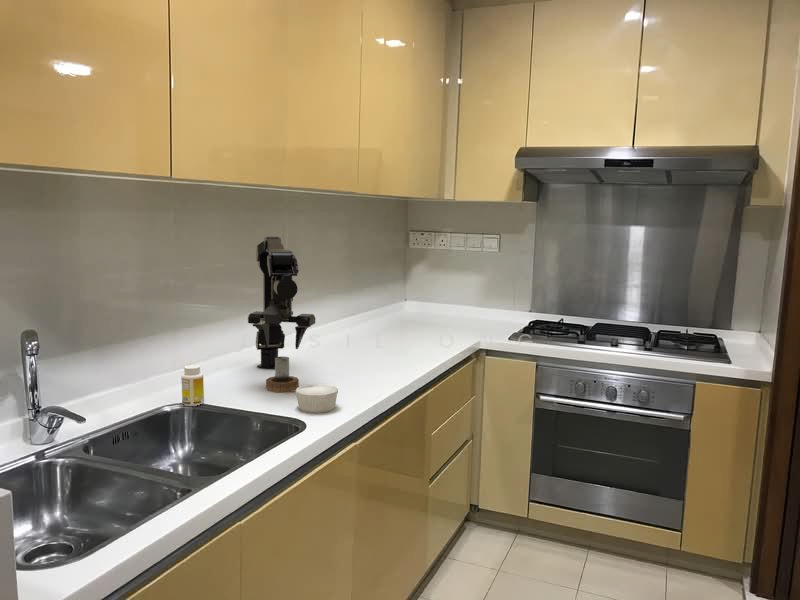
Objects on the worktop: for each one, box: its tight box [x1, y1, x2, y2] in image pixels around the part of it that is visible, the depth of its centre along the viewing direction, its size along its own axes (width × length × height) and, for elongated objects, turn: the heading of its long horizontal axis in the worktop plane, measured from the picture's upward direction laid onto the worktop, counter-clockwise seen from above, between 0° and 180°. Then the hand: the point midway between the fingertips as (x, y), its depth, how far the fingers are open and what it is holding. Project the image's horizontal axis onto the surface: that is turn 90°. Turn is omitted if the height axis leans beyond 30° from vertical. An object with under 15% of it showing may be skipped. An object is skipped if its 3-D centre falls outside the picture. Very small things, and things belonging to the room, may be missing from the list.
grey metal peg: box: [274, 356, 290, 383], centre depth 193 cm, size 4×4×9 cm
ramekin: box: [295, 383, 339, 414], centre depth 175 cm, size 11×11×5 cm
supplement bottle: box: [181, 364, 205, 407], centre depth 176 cm, size 6×6×10 cm
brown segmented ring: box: [265, 375, 300, 393], centre depth 193 cm, size 9×9×2 cm
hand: (281, 348), depth 192 cm, fingers open, 9 cm apart
